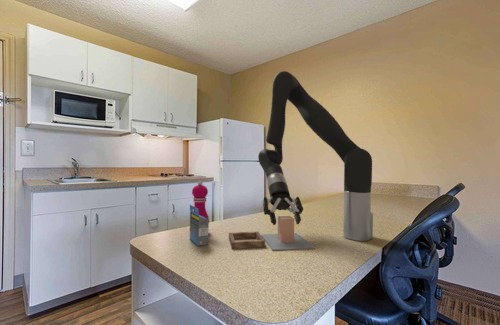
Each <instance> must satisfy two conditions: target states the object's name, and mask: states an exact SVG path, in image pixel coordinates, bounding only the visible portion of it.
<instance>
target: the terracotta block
mask: <svg viewBox="0 0 500 325" xmlns="http://www.w3.org/2000/svg"><path fill="white" fill-rule="evenodd" d="M294 233H295V217H292V216H291V215H278V216H277V234H278V240H279V241H280V242H281V243H285V242H294Z"/></svg>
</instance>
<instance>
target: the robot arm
mask: <svg viewBox="0 0 500 325" xmlns="http://www.w3.org/2000/svg"><path fill="white" fill-rule="evenodd" d="M271 90H272V91H271V92H272V93H271V94H272V95H271V96H272V97H271V107H270V108H271V109H270V116H269V123H268V129H267V133H266V138H265V142H266V143H267V144H269V145H271V146H273V148H274V150H273V149H267V148H264V149H263V148H262V150H260V151H259V153H258V156H257V158H258V162H259V165H260V167H261V168H262V169H263V172H264V174H265V177H266V181H267V182H266V183H267V189H268V194H269V198H268V197H263V200H262V208H263V214H264V215H266V216H267V215H268V216H269V217H270V223H271V224H273V226H276V224H277V218H276V217H277V216H276V214H275V212H276V211H277V210H278V211H289V213H291V214H293V215H294V216H293V218H294V222H295V223H296V224H295V225H299V224H300V223H301V221H302V218H301V214H302V213H303V211H304V207H303V204H302V202H301V199H300V197H299V196H296V198H293V197H291V195H290V194H291V193H290V191H289V186H288V184H287V180H286V177H285V176H284V172H283V168H282V166H281V165H282V162H283V159H284V158H283V157H284V156H283V141H284V139H283V138H284V135H285V128H286V110H287V109H286V108H287V103H288V102H290V103H291V104H292V105H293V106H294V107H295V109H297V111H298V112H299V115H300V117H301V118H302V119H303V121H304V122H305V123H306V125H307V126H308V127H309V128H310V130H311V131H312V132H313V133H314V134H315V135H316V136H318V137H319V139H321V140H322V141H323V142H324V143H325V144H327V145H328V146H329V147H330V148H331V149H333V151H335V153H336V155H337V156H338V157H339V158H340V160H341V161H342V162H343V165H344V166H343V168H344V172H343V175H344V176H343V229H342V230H343V233H342V234H343V237H344V238H346V239H347V240H348V239H349V240H352V241H357V242H360V241H361V242H366V241H370V240H373V239H374V238H373V237H374V236H373V235H374V234H373V232H374V213H373V212H372V208H371V205H372V204H371V202H372V201H371V200H372V198H371V197H372V182H373V180H372V179H373V157H372V155H371V154H370V152H369V151H368V150H366V149H364V148H361V147H360V146H358V145H357V144H356V143H355V142H354V141H353V140H352V139H351V138H350V137H349V136H348V135H347V133H346V132H345V131H344V129H343V128H342V126H341V124H339V122H338V121H337V119H335V117H334V115H332V114H331V113H330V112H329V111H328V110H327V109H326V107H324V106H323V105H322V104H321V103H319V102H318V101H317V100H316V99H315V98H313V97H312V96H311V95H310V94H309V93H308V92H307V91H306V89H305V88H304V87H303V85H302V84H301V83H300V81H299V80H298V78H297V77H296V76H295V75H293V74H292V73H290V72H289V71H286V70H282V71H279V72H278V73H276V75H275V76H274V77H273V81H272V89H271ZM269 204H270V205H272V207H271V209H269Z"/></svg>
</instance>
